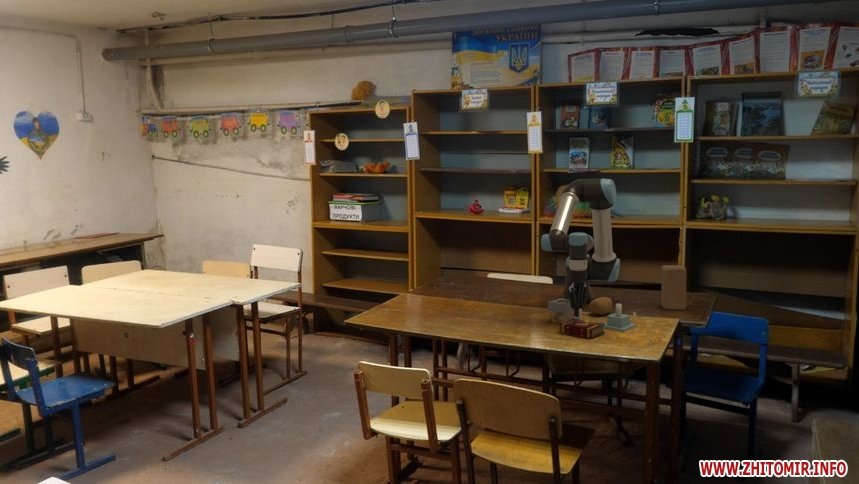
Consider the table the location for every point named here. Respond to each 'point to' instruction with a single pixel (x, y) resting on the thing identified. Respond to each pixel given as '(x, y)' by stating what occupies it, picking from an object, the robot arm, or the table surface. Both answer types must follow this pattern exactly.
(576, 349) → the table surface
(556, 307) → the grey square frame
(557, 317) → the stand
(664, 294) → the wooden block
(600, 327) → the decorative book
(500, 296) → the table surface
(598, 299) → the potato
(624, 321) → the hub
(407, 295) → the table surface
